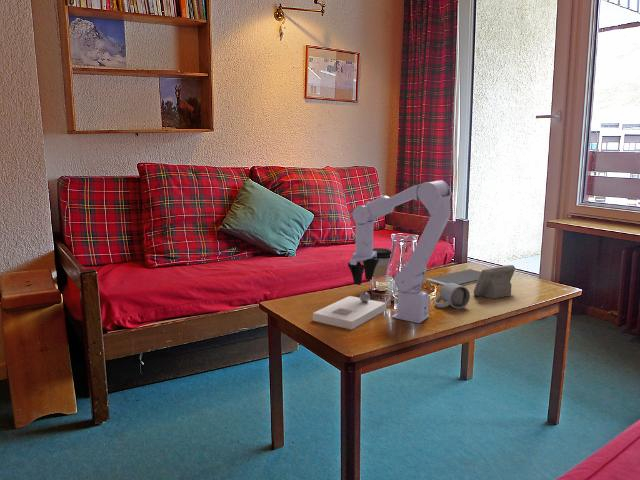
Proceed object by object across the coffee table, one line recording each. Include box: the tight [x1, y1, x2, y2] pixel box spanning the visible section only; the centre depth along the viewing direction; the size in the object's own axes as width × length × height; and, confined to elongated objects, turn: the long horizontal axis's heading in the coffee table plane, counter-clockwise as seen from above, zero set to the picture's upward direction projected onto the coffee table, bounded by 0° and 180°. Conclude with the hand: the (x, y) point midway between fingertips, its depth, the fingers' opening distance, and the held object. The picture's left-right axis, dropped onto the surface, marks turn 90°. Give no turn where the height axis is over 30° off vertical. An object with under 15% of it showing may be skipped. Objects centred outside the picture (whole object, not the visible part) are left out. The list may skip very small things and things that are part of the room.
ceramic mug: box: [434, 283, 471, 310], centre depth 182 cm, size 11×8×8 cm
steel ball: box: [359, 291, 371, 303], centre depth 178 cm, size 4×4×4 cm
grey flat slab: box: [425, 268, 482, 287], centre depth 216 cm, size 13×27×2 cm, turn 125°
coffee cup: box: [373, 247, 392, 277], centre depth 200 cm, size 9×9×15 cm
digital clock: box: [473, 264, 516, 300], centre depth 195 cm, size 16×9×11 cm, turn 108°
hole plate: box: [312, 295, 387, 330], centre depth 172 cm, size 14×22×2 cm, turn 146°
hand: (363, 281), depth 179 cm, fingers open, 7 cm apart
